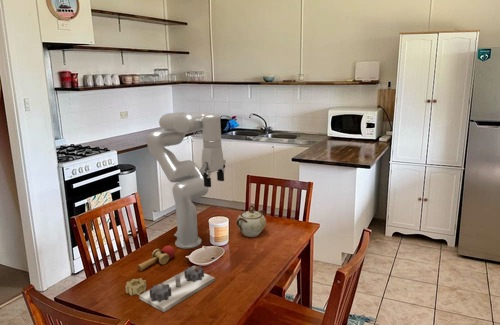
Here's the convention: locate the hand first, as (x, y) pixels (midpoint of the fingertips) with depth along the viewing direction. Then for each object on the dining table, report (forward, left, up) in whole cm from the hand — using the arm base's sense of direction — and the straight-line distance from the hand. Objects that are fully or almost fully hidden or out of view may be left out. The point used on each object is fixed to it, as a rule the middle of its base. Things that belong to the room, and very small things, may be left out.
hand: (214, 183), depth 169 cm
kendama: (-19, -18, -35) cm, 44 cm away
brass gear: (-8, -37, -35) cm, 52 cm away
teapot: (-5, +31, -35) cm, 47 cm away
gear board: (+5, -27, -35) cm, 45 cm away
